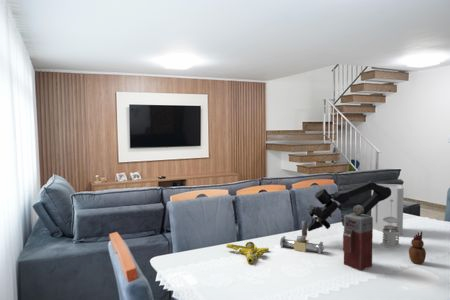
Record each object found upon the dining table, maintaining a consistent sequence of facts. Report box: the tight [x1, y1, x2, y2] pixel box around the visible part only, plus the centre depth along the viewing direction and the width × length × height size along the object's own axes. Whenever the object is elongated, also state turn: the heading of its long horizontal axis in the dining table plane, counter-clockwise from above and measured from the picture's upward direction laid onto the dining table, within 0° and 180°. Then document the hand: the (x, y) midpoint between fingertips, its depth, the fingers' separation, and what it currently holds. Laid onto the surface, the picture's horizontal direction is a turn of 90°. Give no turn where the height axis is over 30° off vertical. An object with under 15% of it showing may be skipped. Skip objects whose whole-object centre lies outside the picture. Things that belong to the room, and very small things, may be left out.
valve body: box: [279, 235, 324, 255], centre depth 174 cm, size 22×6×5 cm, turn 61°
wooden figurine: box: [408, 230, 427, 265], centre depth 155 cm, size 7×6×15 cm
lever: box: [296, 220, 308, 242], centre depth 177 cm, size 11×4×8 cm, turn 154°
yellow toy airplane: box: [225, 241, 270, 264], centre depth 166 cm, size 22×6×20 cm
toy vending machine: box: [342, 204, 374, 271], centre depth 152 cm, size 9×11×28 cm
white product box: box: [370, 183, 404, 237], centre depth 205 cm, size 19×15×28 cm
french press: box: [380, 199, 401, 249], centre depth 180 cm, size 10×12×25 cm
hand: (308, 230), depth 181 cm, fingers closed
